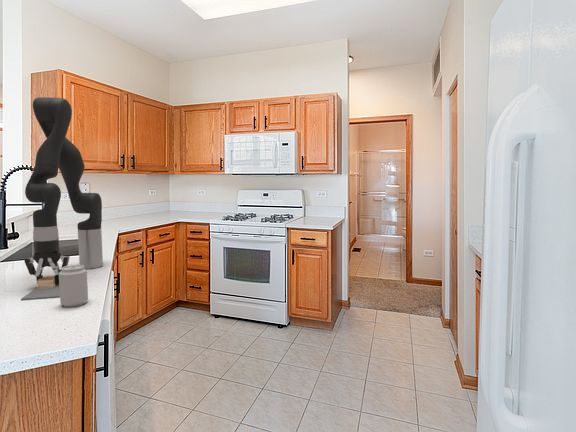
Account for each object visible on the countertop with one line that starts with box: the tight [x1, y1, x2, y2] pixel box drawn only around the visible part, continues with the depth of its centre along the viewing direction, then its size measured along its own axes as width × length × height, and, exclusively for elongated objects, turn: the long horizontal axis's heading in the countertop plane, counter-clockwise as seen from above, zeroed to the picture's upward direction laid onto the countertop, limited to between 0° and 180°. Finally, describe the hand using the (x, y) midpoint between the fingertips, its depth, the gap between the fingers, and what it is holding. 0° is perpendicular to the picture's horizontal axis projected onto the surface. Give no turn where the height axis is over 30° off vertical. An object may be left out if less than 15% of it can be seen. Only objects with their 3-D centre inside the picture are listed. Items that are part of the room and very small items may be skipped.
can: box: [59, 264, 89, 308], centre depth 111 cm, size 8×8×12 cm
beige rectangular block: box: [36, 274, 56, 289], centre depth 128 cm, size 8×5×3 cm, turn 16°
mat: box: [20, 284, 60, 301], centre depth 126 cm, size 20×14×1 cm
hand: (49, 284), depth 128 cm, fingers closed on beige rectangular block, 4 cm apart
